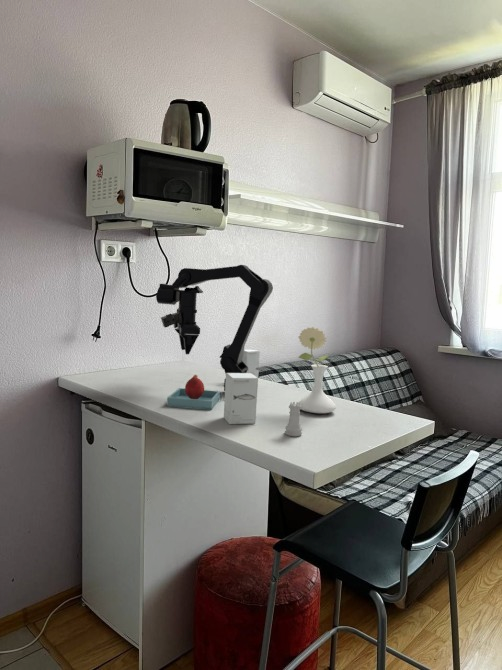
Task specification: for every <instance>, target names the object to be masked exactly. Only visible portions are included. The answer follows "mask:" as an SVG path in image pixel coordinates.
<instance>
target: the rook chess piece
mask: <svg viewBox="0 0 502 670" xmlns="http://www.w3.org/2000/svg"><path fill="white" fill-rule="evenodd" d="M298 402H299V401H298ZM298 402H295V401H291V402H290V404H289V406H288V408H289V418H288V422H287V425H286V426H285V428H284V429H285V430H284V434H286V436H287V437H296V438H297V437H301V436H302V434H303V432H302V431H303V428H302V426H301V425H302V424H301V422H300V414H301V412H300V410H302V409H301V408H302V407H301V406H300V403H299V404H298Z"/></svg>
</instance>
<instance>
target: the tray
mask: <svg viewBox="0 0 502 670" xmlns="http://www.w3.org/2000/svg"><path fill="white" fill-rule="evenodd" d="M166 400H167V401H166V406H167V407H171V408H184V409H194V410H205V411H207V410H209V411H212V410H213V408H215V406H216V405H217V404H218V403H219V401H220V400H221V391H220V390H210V389H204V393H203V395H202V396H201V397H199V398H198V399H190V398H189V397H188V396H187V395H186V392H185V387H183V388H182V387H179V388H177V389H176V390H175V391H174V392H172V393H171V394H170V395H168V396H167V399H166Z"/></svg>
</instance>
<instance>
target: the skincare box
mask: <svg viewBox="0 0 502 670" xmlns="http://www.w3.org/2000/svg"><path fill="white" fill-rule="evenodd" d="M260 353H261V352H260V350H259V349H258V350H257V349H244V355H243V359H242V361H243V362H244V363H245V364H246V366H247V367H248V370H247V372H246V373H252V374H253V375H254V376H256V377H257V378H258V379H259V373H260V372H259V371H260V370H259V369H260Z"/></svg>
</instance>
